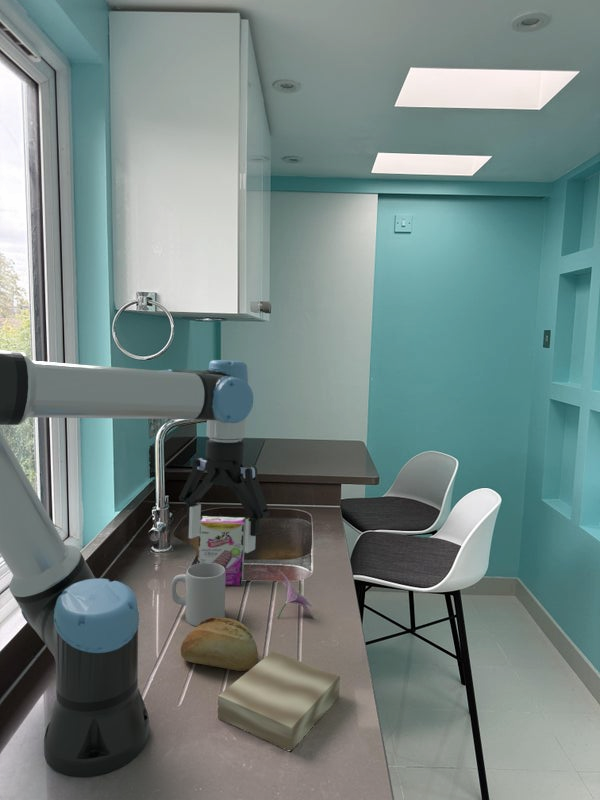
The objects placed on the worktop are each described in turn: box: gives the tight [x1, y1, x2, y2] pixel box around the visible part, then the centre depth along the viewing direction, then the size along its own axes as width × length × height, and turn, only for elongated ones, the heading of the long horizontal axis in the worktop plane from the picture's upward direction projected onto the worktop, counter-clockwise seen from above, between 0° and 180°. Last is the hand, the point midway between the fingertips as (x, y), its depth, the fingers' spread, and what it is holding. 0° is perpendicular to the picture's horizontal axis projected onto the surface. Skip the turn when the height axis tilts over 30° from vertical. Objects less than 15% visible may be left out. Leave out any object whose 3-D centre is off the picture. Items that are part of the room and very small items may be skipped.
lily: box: [277, 568, 314, 619], centre depth 130 cm, size 12×12×10 cm
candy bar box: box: [197, 515, 246, 587], centre depth 145 cm, size 11×5×16 cm, turn 91°
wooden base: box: [217, 650, 341, 751], centre depth 98 cm, size 16×14×4 cm
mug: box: [170, 563, 226, 627], centre depth 127 cm, size 12×8×11 cm
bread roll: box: [180, 617, 259, 672], centre depth 110 cm, size 10×15×8 cm, turn 83°
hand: (221, 543), depth 116 cm, fingers open, 13 cm apart
